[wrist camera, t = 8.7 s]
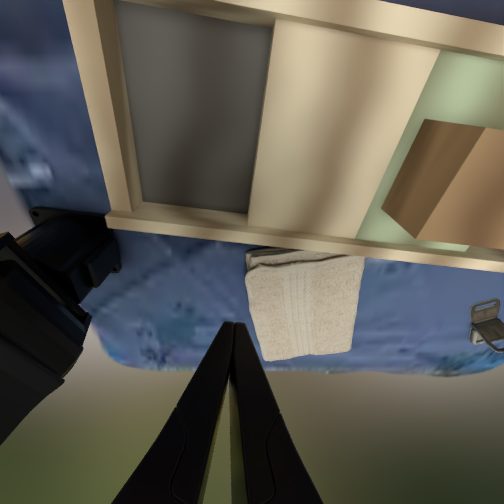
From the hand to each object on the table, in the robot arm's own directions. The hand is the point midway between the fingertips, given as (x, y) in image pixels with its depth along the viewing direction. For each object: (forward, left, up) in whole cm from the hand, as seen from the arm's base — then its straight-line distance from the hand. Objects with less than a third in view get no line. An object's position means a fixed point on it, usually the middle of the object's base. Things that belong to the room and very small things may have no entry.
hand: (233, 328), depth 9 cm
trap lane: (+10, +5, -13) cm, 17 cm away
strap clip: (+32, -12, -14) cm, 37 cm away
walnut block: (+13, +5, -10) cm, 18 cm away
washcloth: (+8, -12, -14) cm, 20 cm away
